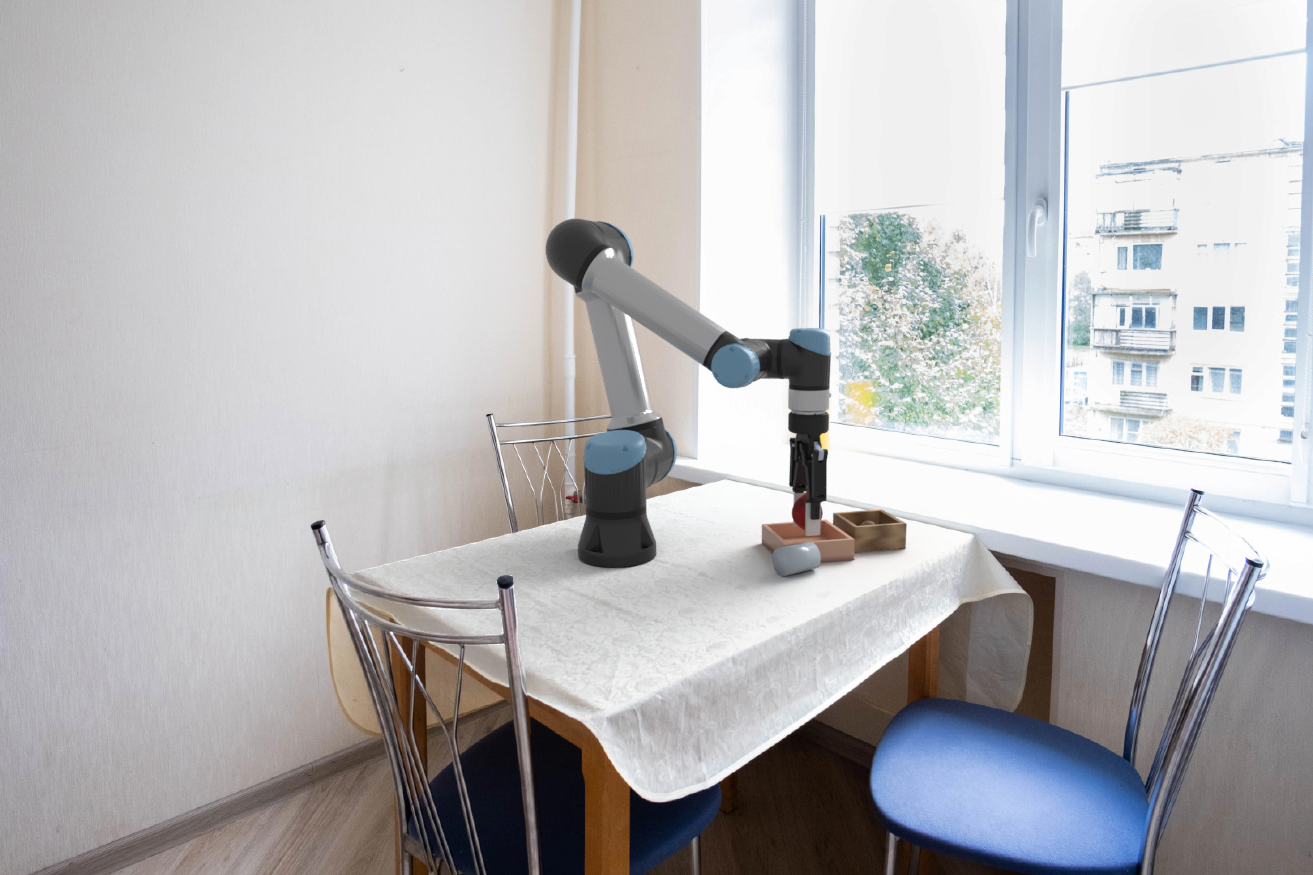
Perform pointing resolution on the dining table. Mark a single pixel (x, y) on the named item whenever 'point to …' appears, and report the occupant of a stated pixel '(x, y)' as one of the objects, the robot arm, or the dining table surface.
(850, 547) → the tray
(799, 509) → the onion
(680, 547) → the dining table surface
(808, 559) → the pale blue capsule
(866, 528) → the crate
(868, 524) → the chestnut
